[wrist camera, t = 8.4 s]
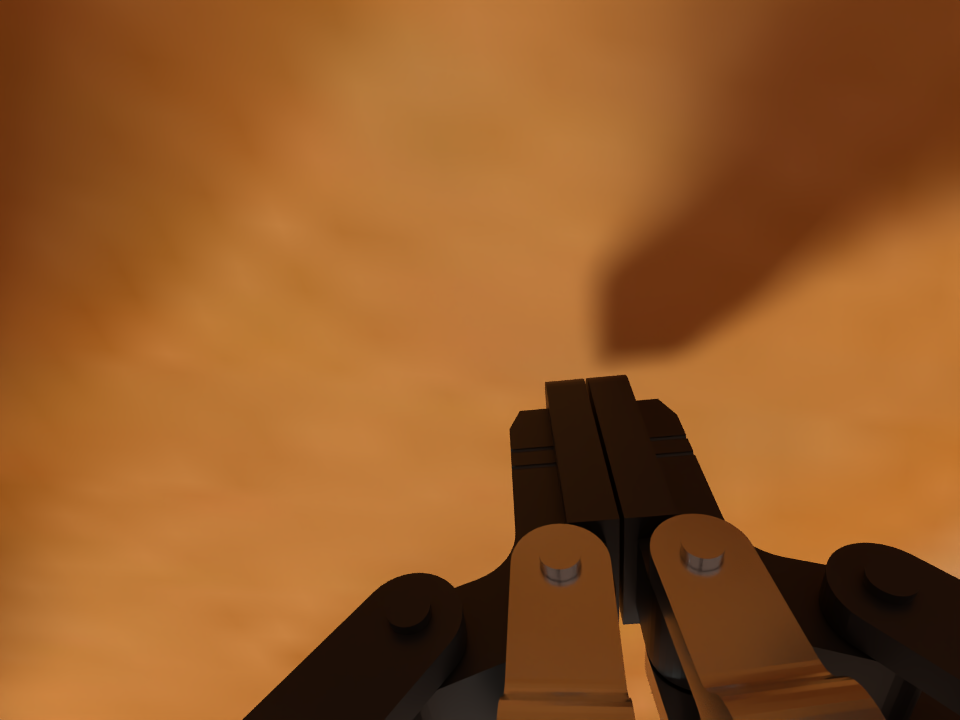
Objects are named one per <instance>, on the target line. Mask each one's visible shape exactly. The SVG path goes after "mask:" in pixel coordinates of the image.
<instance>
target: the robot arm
mask: <svg viewBox="0 0 960 720" xmlns="http://www.w3.org/2000/svg"><path fill="white" fill-rule="evenodd" d="M545 395H546V409H538V410H527V411H520V412H519V414H518V415H517V417H516V419H515V421H514V422H513V424H512V426H511V428H510V445H511V462H512V480H513V497H514V515H515V532H516V533H515V542H514V546H513V548H512V551H511V553H510V554H509V556H508V557H507V559H506V560H505V561H504V562H503V563H502V564H501V565H500V566H499V567H498V568H497V569H496V570H494V571H493V572H491V573H490V574H488V575H486V576H484V577H482V578H480V579H477V580H475V581H472V582H469V583H467V584H464V585H461V586H459V587H456V588H454V587H453V586H452V585H451V584H450V583H449V582H447V581H446V580H445V579H443V578H440V577H438V576H435V575H432V574H426V573H412V574H406V575H403V576H399V577H396V578H394V579H392V580H390V581H388V582H386V583H385V584H383V585H382V586H380V587H379V588H378V589H377V590H376V591H375V592H373V593H372V594H371V595H370V596H369V597H368V598H367V599H366V600H365V601H364V602H363V603H362V604H361V605H360V606H359V607H358V608H357V609H356V610H355V611H354V612H353V613H352V614H351V615H350V616H349V617H348V618H347V619H346V620H345V621H344V622H343V623H342V624H341V625H339V626H338V627H337V628H336V629H335V630H334V631H333V632H332V633H331V634H330V635H329V636H328V637H327V638H326V639H325V640H324V641H323V642H322V643H321V644H320V645H319V646H318V647H317V648H316V649H315V650H314V651H313V652H312V653H311V654H310V655H309V656H308V657H307V658H305V659H304V660H303V661H302V662H301V663H300V664H299V665H298V666H297V667H296V668H295V669H294V670H293V671H292V672H291V673H290V674H289V675H288V676H287V677H286V678H285V679H284V680H283V681H282V682H281V683H280V684H279V685H278V686H277V687H276V688H275V689H274V690H273V691H271V692H270V693H269V694H268V695H267V696H266V697H265V698H264V699H263V700H262V701H261V702H260V703H259V704H258V705H257V706H256V707H255V708H254V709H253V710H252V711H251V712H250V713H249V714H248V715H247V716H246V717H245V718H244V719H243V720H635V714H634V709H633V704H632V700H631V698H629V696H628V692H627V685H626V678H625V670H624V662H623V654H622V646H621V638H620V630H619V608H620V612H621V617H622V621H623V624H638V623H640V625H641V629H642V633H643V638H644V642H645V671H646V675H647V678H648V682H649V685H650V688H651V691H652V694H653V697H654V701H655V704H656V707H657V710H658V713H659V716H660V720H960V579H958V578H956V577H954V576H952V575H950V574H948V573H946V572H944V571H942V570H940V569H938V568H937V567H935V566H933V565H931V564H929V563H927V562H925V561H923V560H921V559H919V558H917V557H915V556H913V555H911V554H909V553H907V552H905V551H902V550H900V549H897V548H894V547H890V546H886V545H882V544H875V543H856V544H850V545H847V546H844V547H842V548H840V549H838V550H837V551H835V552H834V553H833V554H832V555H831V556H830V558H829V559H828V562H827V565H824V564H818V563H813V562H808V561H802V560H797V559H791V558H786V557H781V556H777V555H773V554H770V553H768V552H765V551H762V550H760V549H758V548H756V547H754V546H753V545H752V543H751V542H750V540H749V539H748V538H747V537H746V535H745V534H744V533H743V532H742V531H740V530H739V529H738V528H736V527H735V526H733V525H732V524H730V523H728V522H726V521H725V520H724V518H723V516H722V514H721V512H720V510H719V507H718V505H717V503H716V501H715V499H714V496H713V494H712V492H711V490H710V487H709V485H708V483H707V481H706V478H705V476H704V474H703V472H702V470H701V467H700V465H699V463H698V461H697V458H696V456H695V455H694V454H693V449H692V447H691V445H690V443H689V441H688V438H687V439H686V434H685V432H684V429H683V427H682V425H681V423H680V420H679V418H678V416H677V414H675V413H674V412H673V411H672V410H671V409H669V408H668V407H667V406H666V405H665V404H663V403H662V402H661V401H660V400H659V399H650V400H639V401H636V399H635V397H634V394H633V391H632V388H631V386H630V383H629V380H628V378H627V376H626V375H617V376H606V377H595V378H586V384H585V381H584V379H574V380H563V381H552V382H545Z"/></svg>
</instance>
